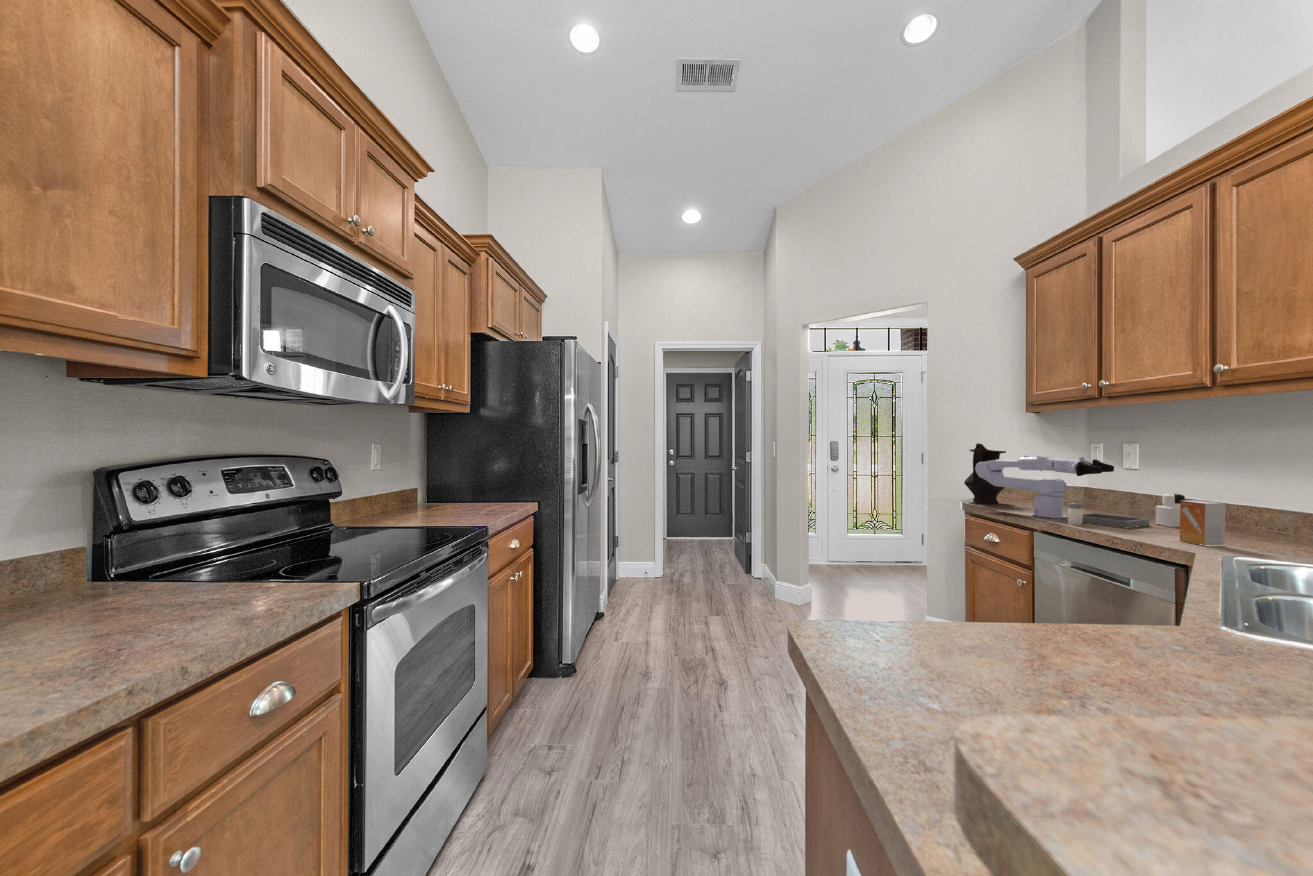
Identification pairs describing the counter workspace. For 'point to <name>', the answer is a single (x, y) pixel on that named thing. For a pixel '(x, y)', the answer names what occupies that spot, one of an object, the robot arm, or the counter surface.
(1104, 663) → the counter surface
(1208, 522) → the small box
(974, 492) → the jug
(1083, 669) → the counter surface
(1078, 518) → the shaker
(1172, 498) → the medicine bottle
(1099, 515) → the tray
